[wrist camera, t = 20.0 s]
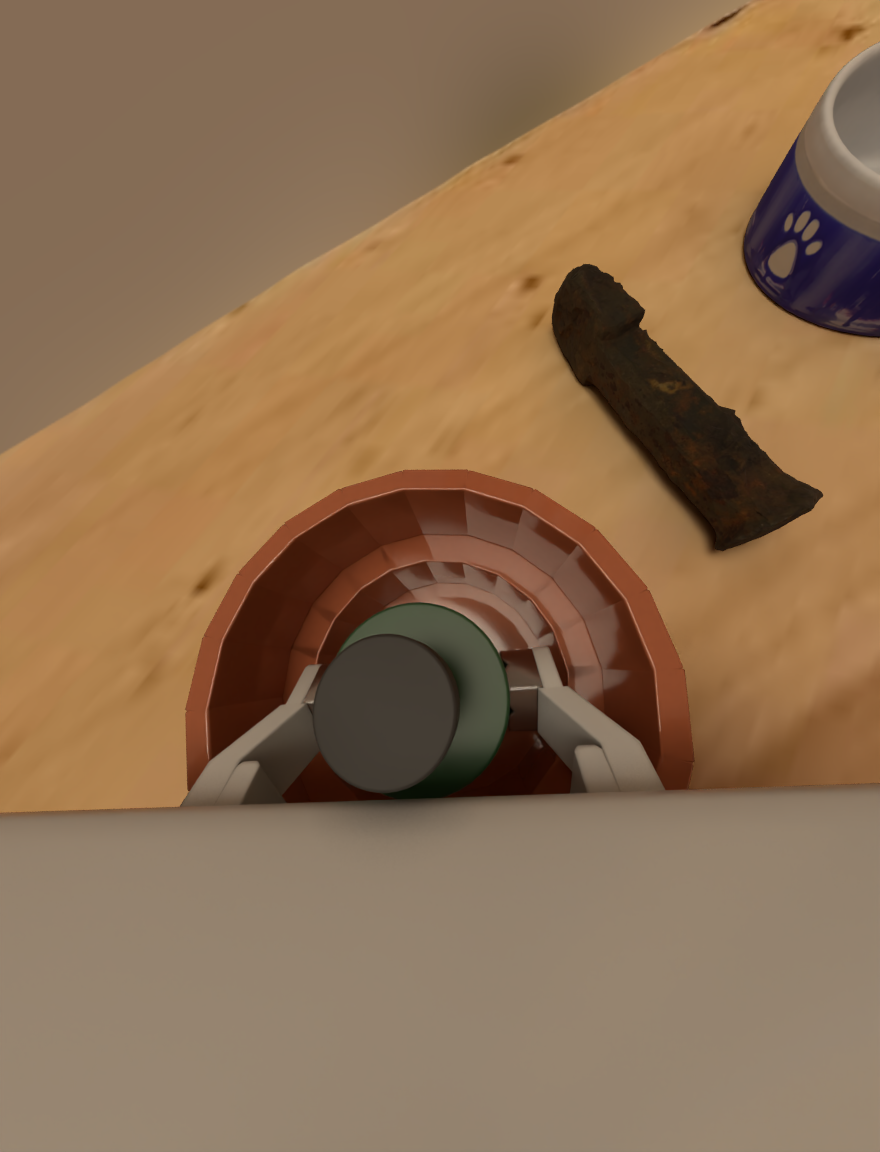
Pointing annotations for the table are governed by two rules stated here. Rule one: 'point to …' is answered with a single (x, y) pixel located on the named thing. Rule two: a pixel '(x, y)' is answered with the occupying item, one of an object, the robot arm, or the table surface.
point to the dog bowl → (827, 210)
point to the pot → (457, 581)
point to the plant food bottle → (412, 703)
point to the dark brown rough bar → (673, 413)
